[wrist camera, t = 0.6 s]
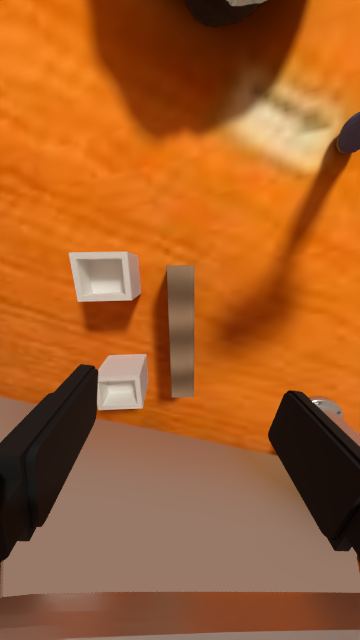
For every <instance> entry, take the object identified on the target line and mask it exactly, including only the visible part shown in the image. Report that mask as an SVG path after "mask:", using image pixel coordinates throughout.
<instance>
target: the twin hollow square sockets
mask: <svg viewBox="0 0 360 640" xmlns="http://www.w3.org/2000/svg"><path fill="white" fill-rule="evenodd" d="M69 257H70V262H71V267H72V273H73V278H74V283H75V289H76V294H77V299H78V302H84V301H124V300H133V299H134V298H136V297H137V296H138V295H140V294H141V284H140V272H139V260H138V256H137V255H135V254H132V253H129V252H73V253H69ZM147 386H148V369H147V357H146V354H132V355H109V356H108V357H107V359H106V360H105V361H104V363H103V364H102V365H101V367H100V368H99V369H98V391H97V405H98V410H114V409H136V408H143V404H144V399H145V395H146V390H147Z"/></svg>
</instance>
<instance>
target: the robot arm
mask: <svg viewBox="0 0 360 640" xmlns="http://www.w3.org/2000/svg"><path fill="white" fill-rule="evenodd" d="M97 391H98V370H97V369H95V367H94V366H91V365H83V364H81V365H79V366H78V367H77V368H76V369H75V371H74V372H73V373H72V374H71V375H70V376H69V377H68V378H67V379H66V380H65V381H64V382H63V383H62V384H61V385H60V386H59V387H58V389H57V390H56V391H55V392H54V393H50V394H48V395H47V396H46V397H45V398H44V399H43V400H42V401H41V402H40V403H39V404H38V405H37V406H36V407H35V408H34V409H33V410H32V411H31V412H30V413H29V414H28V415H27V416H26V417H25V418H24V419H23V420H22V421H21V422H20V423H19V424H18V425H17V426H16V427H15V428H14V429H13V430H12V431H11V432H10V433H9V434H8V435H7V437H5V438H4V440H3V441H2V442H1V443H0V640H360V593H315V592H314V593H311V592H95V593H62V594H30V595H21V596H11V597H3V560H5V559H6V558H7V557H8V556H9V554H10V552H11V551H12V549H13V547H14V545H15V544H16V542H17V541H30V539H31V537H32V535H33V533H34V531H35V529H36V527H41V526H42V525H43V524H44V522H45V521H46V519H47V517H48V515H49V513H50V511H51V509H52V507H53V505H54V503H55V501H56V499H57V497H58V495H59V493H60V491H61V489H62V487H63V485H64V483H65V481H66V479H67V477H68V475H69V473H70V471H71V469H72V467H73V465H74V463H75V461H76V459H77V457H78V455H79V453H80V451H81V449H82V447H83V445H84V443H85V441H86V439H87V437H88V435H89V433H90V431H91V429H92V427H93V425H94V422H95V419H96V411H97ZM268 437H269V440H270V442H271V444H272V446H273V448H274V449H275V451H276V453H277V455H278V456H279V458H280V460H281V461H282V463H283V465H284V467H285V469H286V471H287V472H288V474H289V476H290V478H291V479H292V481H293V483H294V485H295V486H296V488H297V490H298V492H299V493H300V495H301V497H302V499H303V500H304V502H305V504H306V506H307V507H308V509H309V511H310V513H311V515H312V516H313V518H314V520H315V521H316V523H317V525H318V527H319V529H320V530H321V532H322V533H323V534H324V536H326V537H327V538H328V540H329V542H330V544H331V545H332V547H333V549H334V550H335V551H349V550H350V548H351V547H353V548H354V550H355V552H356V553H357V560H358V566H359V572H360V434H359V433H357V432H356V431H355V430H354V429H353V428H352V427H351V426H350V425H348V424H347V423H346V422H345V421H344V420H343V413H342V410H341V408H340V407H339V406H338V405H337V404H336V403H335V402H333V401H332V400H330V399H327V398H323V397H314V398H308V397H307V396H306V395H305V394H304V393H302V392H299V391H291V390H290V391H288V392H287V393H285V394H284V396H283V398H282V401H281V403H280V406H279V408H278V411H277V413H276V415H275V418H274V420H273V423H272V425H271V427H270V430H269V433H268Z"/></svg>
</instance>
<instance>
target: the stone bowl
mask: <svg viewBox="0 0 360 640" xmlns="http://www.w3.org/2000/svg"><path fill="white" fill-rule="evenodd" d="M185 1H186V4H187V6H188V8H189V10H190V12H191V14H192V15H193V17H194V18H195V19H196V20H198V21H200V22H201V23H203V24H205V25H207V26H214V27H217V26H219V25H221V24H225V23H230V24H234V23H237V22H239V21H241V20H243V19H244V18H246V17H248V15H250V14H251V13H252V12H253V11H254V10H255V9H256V8H257V7H258V6H259V5H260V4H261V3H263V2H264V1H267V0H185Z"/></svg>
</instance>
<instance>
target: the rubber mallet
mask: <svg viewBox="0 0 360 640" xmlns="http://www.w3.org/2000/svg"><path fill="white" fill-rule="evenodd" d="M336 147H337V150H338V151H339V152H340V153H343V154H345V153H352V152H356V151H357V150H359V149H360V112H358V113H357V114H355V115H354V116H352V117H351V118H350V119H349V120H348V121H347V122H346V123H345V125H344V126H343V128H342V130H341V132H340V134H339V136H338V138H337V141H336Z"/></svg>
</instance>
